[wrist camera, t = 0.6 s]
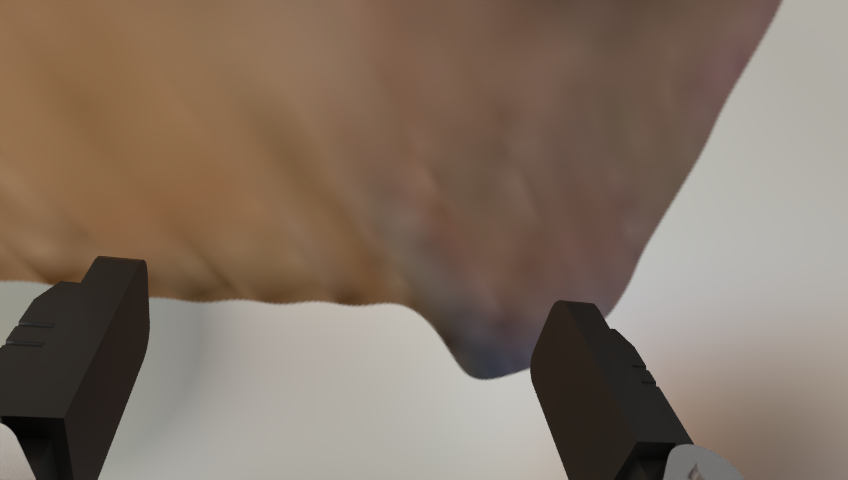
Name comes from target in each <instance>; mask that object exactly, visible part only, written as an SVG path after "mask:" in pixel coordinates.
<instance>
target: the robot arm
mask: <svg viewBox="0 0 848 480" xmlns="http://www.w3.org/2000/svg"><path fill="white" fill-rule="evenodd" d="M149 331H150V319H149V296H148V274H147V265H146V262H145V261H144V260H139V259H128V258H118V257H107V256H98V257H97V258H96V259H95V260H94V262H93V263H92V265H91V267H90V268H89V270H88V272H87V273H86V275H85V277H84V278H83V280H82V282H81V283H75V282H63V281H60V282H59V283H57V284H56V285H54V286H53V287H51V288H50V289H49V290H47V291H46V292H44V293H43V294H41V295H40V296H38V297H37V298H35V299H34V300H33V302H32V303H31V305H30V306H29V308H28V309H27V310H26V312H25V313H24V315H23V316H22V318H21V319H20V321H19V325H18V326H16V327H15V328H14V329H13V331H12V332H11V334H10V335H9V337H8V338H7V339H6V344H5V345H3V346H2V347H1V348H0V480H98V477H99V475H100V472H101V469H102V466H103V464H104V461H105V459H106V456H107V454H108V451H109V449H110V446H111V443H112V441H113V438H114V436H115V433H116V430H117V428H118V425H119V422H120V420H121V417H122V415H123V412H124V410H125V407H126V404H127V402H128V399H129V396H130V394H131V391H132V388H133V386H134V384H135V381H136V378H137V376H138V373H139V370H140V368H141V365H142V363H143V360H144V357H145V353H146V350H147V345H148V340H149ZM530 372H531V380H532V383H533V386H534V389H535V391H536V394H537V397H538V399H539V402H540V404H541V407H542V410H543V413H544V415H545V418H546V421H547V423H548V426H549V429H550V431H551V434H552V437H553V439H554V442H555V444H556V447H557V450H558V453H559V455H560V458H561V461H562V463H563V466H564V468H565V471H566V474H567V477H568V479H569V480H745V479H744V478H743V477H742V475H741V474H740V473H739V472H738V471H737V469H736V468H735V467H734V466H733V465H731V464H730V463H729V462H728V461H727V460H725V459H724V458H722V457H721V456H720V455H718V454H716V453H715V452H713V451H711V450H708V449H706V448H704V447H701V446H696V445H694V443H693V442H692V440H691V439H690V437H689V436H688V434H687V432H686V430H685V429H684V427H683V425H682V424H681V422H680V421H679V419H678V417H677V416H676V414H675V412H674V411H673V409H672V407H671V406H670V404H669V403H668V401H667V399H666V398H665V396H664V394H663V393H662V391H661V390H660V388H659V387H656V381H655V380H654V378H653V377H652V375H651V374H650V372H649V371H648V370H646V365H645V363H644V362H643V360H642V359H641V357H640V355H639V354H638V352H637V351H636V349H635V347H634V346H633V345H632V344H631V343H630V342H628V341H627V340H626V339H625V338H624V337H623V336H622V335H621V334H620V333H619V332H618V331H617V330H615V329H610V328H609V326H608V325H607V323H606V321H605V319H604V318H603V316H602V314H601V313H600V311H599V309H598V308H597V306H596V305H595V304H593V303H584V302H573V301H563V300H559V301H557V302H555V303H554V305H553V306H552V308H551V310H550V313H549V315H548V318H547V320H546V322H545V325H544V327H543V330H542V332H541V334H540V337H539V339H538V341H537V344H536V346H535V349H534V351H533V354H532V357H531V365H530Z"/></svg>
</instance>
